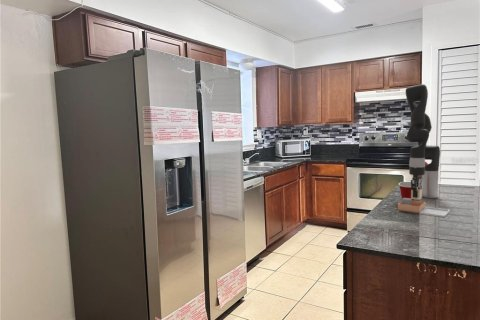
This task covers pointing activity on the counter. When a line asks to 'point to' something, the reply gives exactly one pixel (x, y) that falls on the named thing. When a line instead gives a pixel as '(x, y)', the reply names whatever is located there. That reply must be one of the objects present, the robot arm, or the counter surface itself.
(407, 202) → the grey stacked cube
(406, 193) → the plastic cup
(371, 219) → the counter surface
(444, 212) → the tray
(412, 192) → the beige wooden cube
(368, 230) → the counter surface
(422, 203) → the dish
